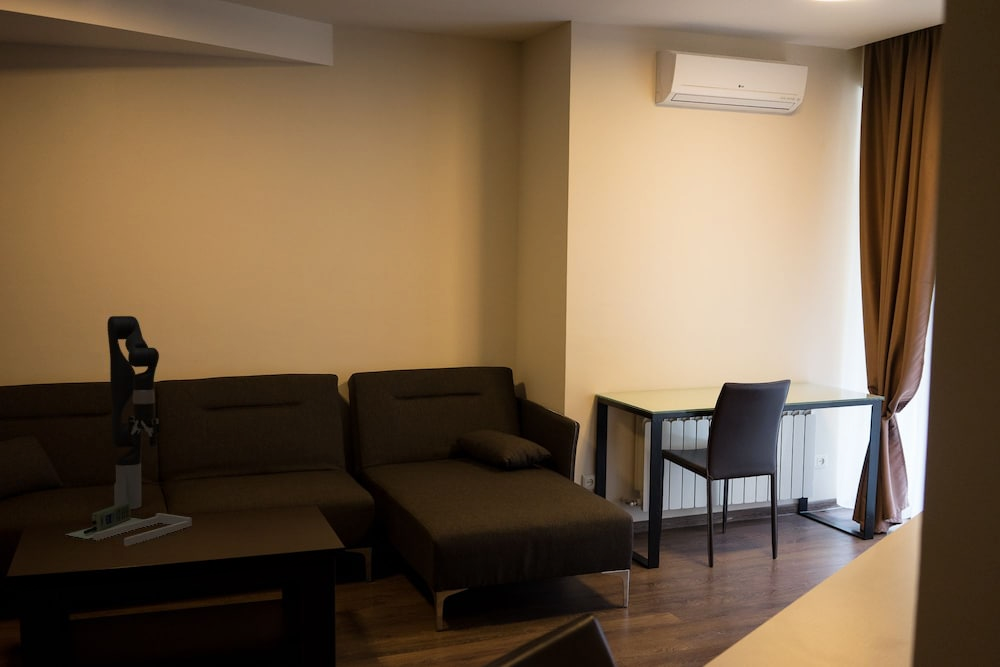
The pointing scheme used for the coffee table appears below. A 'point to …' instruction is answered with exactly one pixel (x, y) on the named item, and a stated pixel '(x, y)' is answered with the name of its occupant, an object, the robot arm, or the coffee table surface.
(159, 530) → the white u-shaped frame
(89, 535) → the green mat
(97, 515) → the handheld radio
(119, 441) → the robot arm
